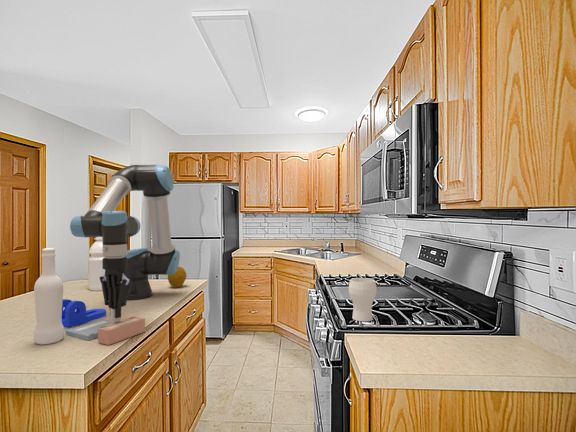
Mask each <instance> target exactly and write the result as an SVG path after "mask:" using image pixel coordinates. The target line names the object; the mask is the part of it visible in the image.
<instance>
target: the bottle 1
mask: <svg viewBox="0 0 576 432" xmlns="http://www.w3.org/2000/svg"><path fill="white" fill-rule="evenodd" d="M55 251H56V250H55V248H54V247H46V248H45V247H44V248H42V249H41V255H40V256H41V275H40V276H39V277H38V279H36V281H35V283H34V287H33V294H34V295H33V296H34V305H35V307H34V308H35V319H36V325H35V329H34V332H33V335H34V336H33V339H34V343H36V344H37V345H42V346H43V345H51V344H55V343H58V342H60V341H61V340H63V338H64V336H65V327H63V325H62V302H63V299H64V298H63V297H64V282H63V280H62V279H61V278H60V276H58V275H57V273H56V252H55Z"/></svg>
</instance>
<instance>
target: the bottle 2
mask: <svg viewBox="0 0 576 432" xmlns="http://www.w3.org/2000/svg"><path fill="white" fill-rule="evenodd" d="M94 238H95V242H93V243H92V245H91V246H90V248H89V250H88V254H89V255H90V256H89V258H88V259H87V264H88V265H87V268H88V269H87V270H88V272H87V274H88V275H87V276H88V278H87V280H88V283H87V287H88V290H89V291H95V292H97V291H100V292H101V291H102V292H103V290H102V284H101V281H100V277H102V276H104V275H105V270H104V269H103V268H102V259H103V258H105V257H103V244H102V237H94Z"/></svg>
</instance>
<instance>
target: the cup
mask: <svg viewBox="0 0 576 432" xmlns="http://www.w3.org/2000/svg"><path fill="white" fill-rule="evenodd" d="M377 289H378V288H377V283H376V280H375V279H373V278H368V277H355V278H350V280H349V284H348V294H349V298H350V299H351V302H352V306H353V309H352V310H353V311H352V318H351V319H352V320H354V321H357V322H371V321H373V312H372V311H373V310H372V309H373V302H374V301H375V298H376V296H377V292H378V291H377Z"/></svg>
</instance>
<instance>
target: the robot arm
mask: <svg viewBox="0 0 576 432" xmlns="http://www.w3.org/2000/svg"><path fill="white" fill-rule="evenodd" d="M173 189H174V176H173V173H172V171H171V168H169V166H167V165H163V164H162V165H161V164H131V165H127V166H125V167H122V168H121V169H119V170H118V171H116V172H115V173H114V174H113V175H112V176H111V177H110V178H109V180H108V181H107V186H106V187H105V189H104V190H103V191H102V192H101V194H100V195H99V196H98V198H96V200H95V202H94V203H93V204H92V205H91V206H90V208H89V209H88V211H87V212H86V213H85V214H84V215H79V216H78V215H77V216H74V217H73V218H72V219H71V220H70V225H69V229H70V232H71V234H72V235H73V236H74V237H77V238H86V239H87V238H96V237H102V244H103V257H105V258H103V259H102V268H103V269H104V270H105V275H104V276H102V277H100V281H101V284H102V294H103V302H104V305H105V306H108V308H109V317H110V320H109V321H110V324H113V323H116V322H119V321H121V317H122V308H123V307H126V305H127V302H128V301H133V300H140V299H141V300H143V299H145V298H150V297H151V296H152V295H153V289H152V287H151V284H150V281H149V276H150V275H151V276H162V275H163V276H164V275H166V276H168V274H175V273H176V271H177V269H178V267H179V264H180V254H181V253H180V251H179V250H177V249H176V245H174V244H173V243H172V237H171V236H172V235H171V226H170V225H171V224H170V217H169V216H170V214H169V206H168V204H169V202H168V197H169V196H170V194H171V192H172V191H173ZM135 191H137V192H138V191H139V192H141V191H142V193H143V197H144V198H146V199H147V206H148V216H149V225H150V232H151V242H152V243H151V244H152V246H151V247H150V248H148V247H139V248H134V249H130V250H129V249H128V238H131V237H133V236H135V235H137V234H138V233H140V230H141V223H140V220H139V219H138V218H137V217H135V216H133V215H128V213H127V211H125V210H116V209H117V207H118V206H119V204H120V203H121V202H122V200H123V199H124V197H125V196H127V195H129V194H130V193H131V192H135Z"/></svg>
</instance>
